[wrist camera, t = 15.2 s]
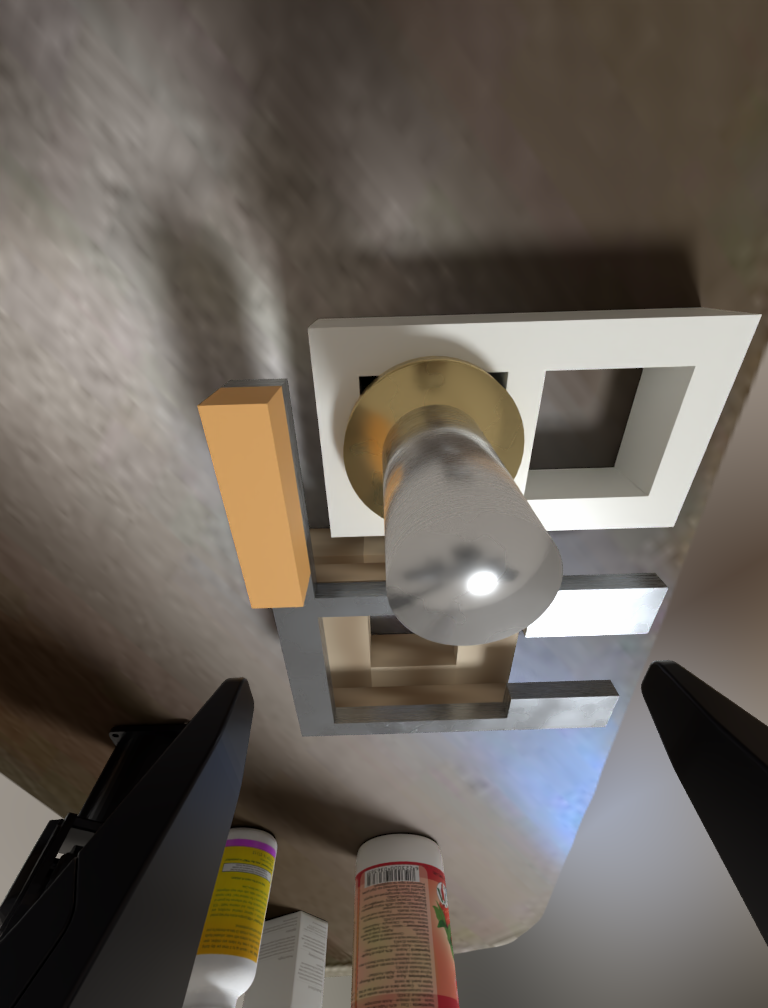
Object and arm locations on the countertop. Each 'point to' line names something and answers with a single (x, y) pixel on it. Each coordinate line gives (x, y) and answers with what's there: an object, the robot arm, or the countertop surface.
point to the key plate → (379, 588)
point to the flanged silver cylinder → (451, 501)
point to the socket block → (398, 644)
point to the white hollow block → (521, 371)
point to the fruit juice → (402, 926)
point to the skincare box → (290, 963)
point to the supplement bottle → (233, 921)
